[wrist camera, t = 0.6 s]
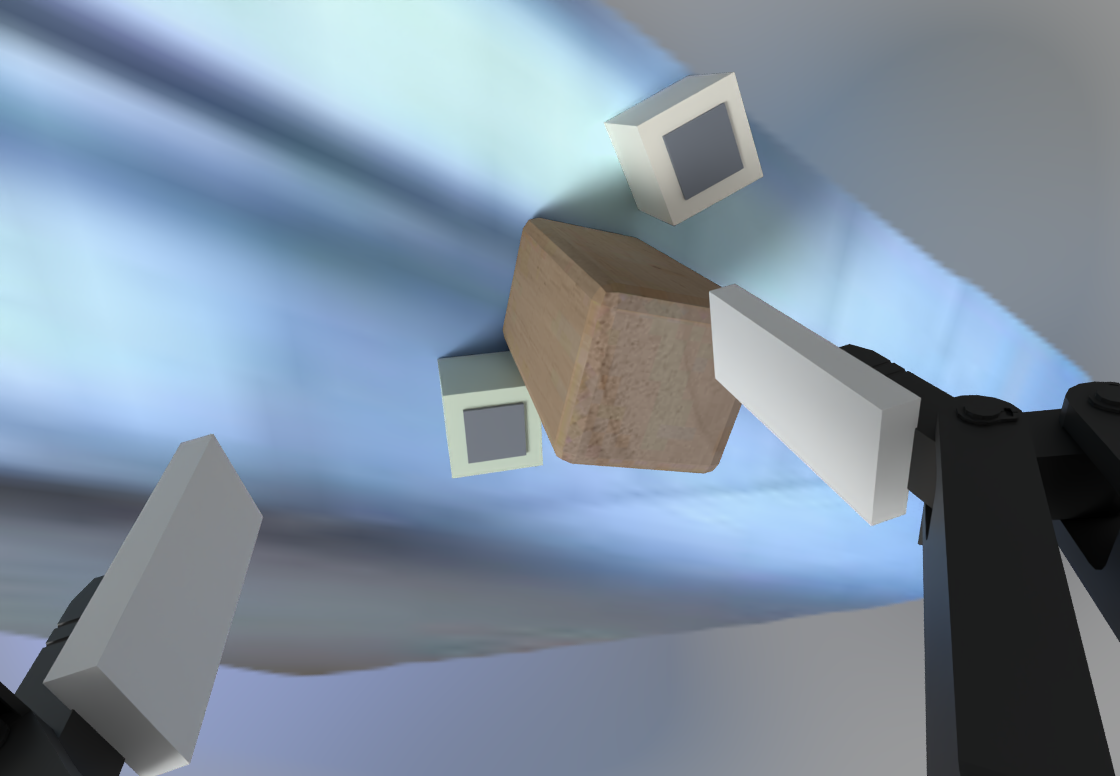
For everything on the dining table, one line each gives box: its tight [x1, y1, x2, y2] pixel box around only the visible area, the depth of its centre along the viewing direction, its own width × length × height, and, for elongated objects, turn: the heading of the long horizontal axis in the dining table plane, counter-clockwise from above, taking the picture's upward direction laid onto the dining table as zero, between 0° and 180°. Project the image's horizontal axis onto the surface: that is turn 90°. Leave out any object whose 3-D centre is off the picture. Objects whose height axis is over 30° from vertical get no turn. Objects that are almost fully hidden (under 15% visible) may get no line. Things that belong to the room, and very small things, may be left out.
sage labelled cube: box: [438, 351, 543, 478], centre depth 47 cm, size 7×7×7 cm
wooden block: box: [503, 218, 742, 473], centre depth 39 cm, size 10×10×20 cm
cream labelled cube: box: [604, 72, 763, 226], centre depth 42 cm, size 7×7×7 cm
